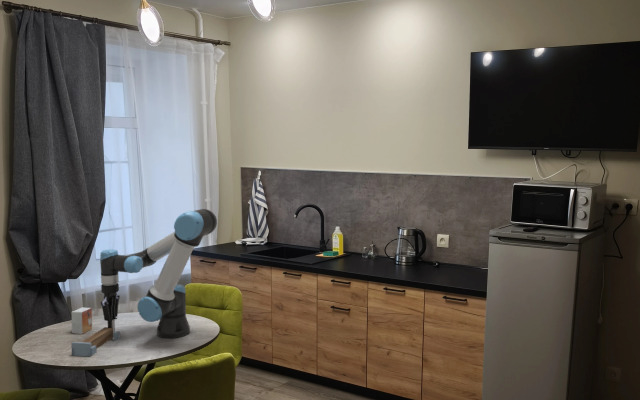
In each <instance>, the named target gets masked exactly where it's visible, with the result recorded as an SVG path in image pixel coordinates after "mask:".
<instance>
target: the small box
mask: <svg viewBox="0 0 640 400" xmlns="http://www.w3.org/2000/svg"><path fill="white" fill-rule="evenodd" d="M92 315H93V313H92V307H83V306H82V307H79V308H78V309H75V310H73V311H71V333H72V334H78V335H83V334H85V333H87V332H89V331H91V330H92V329H93V319H92V318H93V316H92Z"/></svg>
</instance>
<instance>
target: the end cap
mask: <svg viewBox="0 0 640 400" xmlns="http://www.w3.org/2000/svg"><path fill="white" fill-rule="evenodd" d="M70 345H71V356H75V357H92V356H93V355H95V354H97V349H96V346H92V343H87V342H81V341H72V342H71V344H70Z"/></svg>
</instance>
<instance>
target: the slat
mask: <svg viewBox="0 0 640 400" xmlns="http://www.w3.org/2000/svg"><path fill="white" fill-rule="evenodd" d="M110 340H113V328H108V326H107V327H106V326H104V327H103V328H101V329H100V330H98V331H96V332H95V333H93V334H91V335H90V336H88V337H86V338H85V339H83V340H82V341H80V342H87V343H92V346H96V350H97V349H98V348H101V346H103V345H104V344H106V343H108V342H109V341H110Z"/></svg>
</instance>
